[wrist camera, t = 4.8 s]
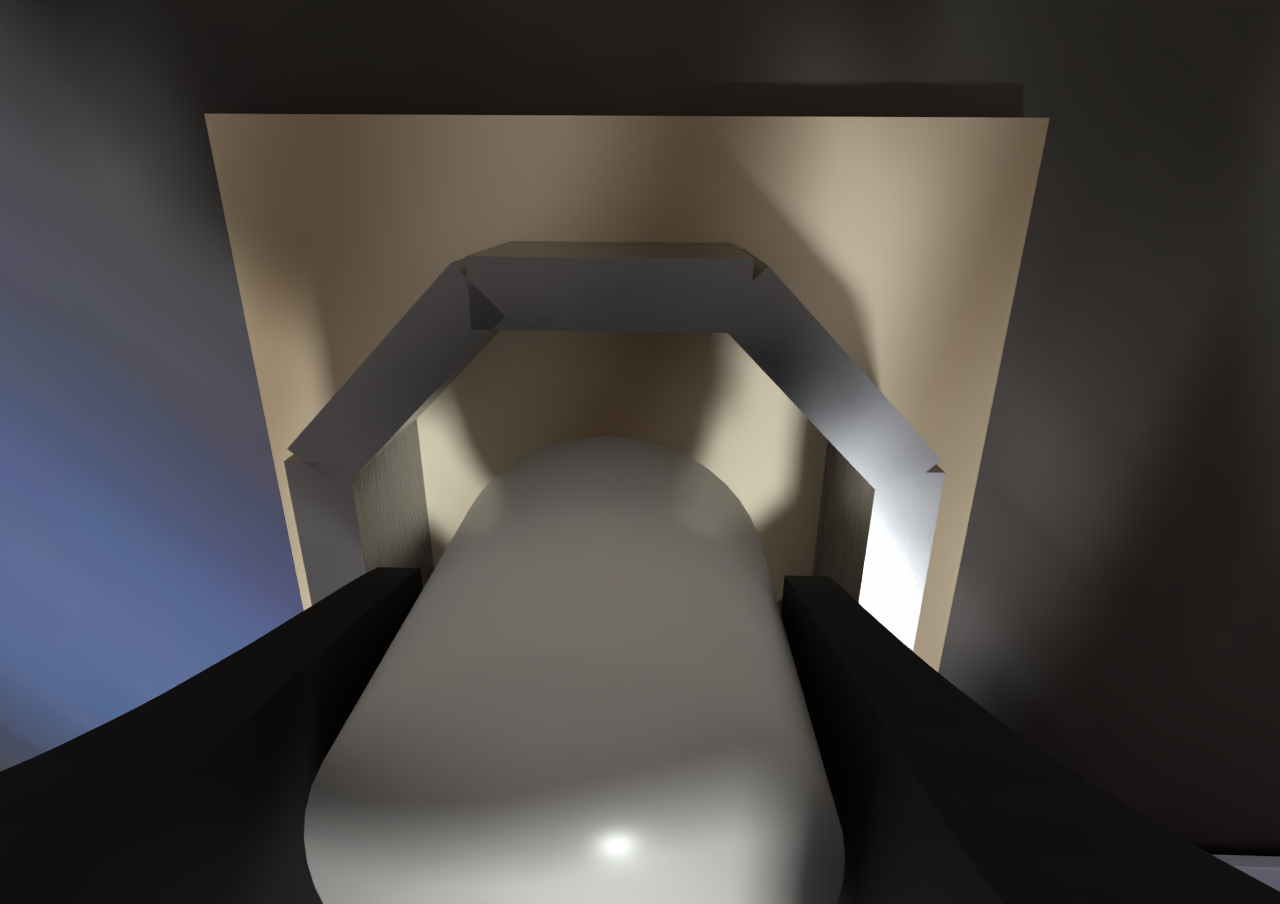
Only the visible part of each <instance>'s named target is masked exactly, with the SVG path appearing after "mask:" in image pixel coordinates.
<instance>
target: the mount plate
mask: <svg viewBox="0 0 1280 904" xmlns="http://www.w3.org/2000/svg"><path fill="white" fill-rule="evenodd" d="M204 115H205V120H206V125H207V130H208V135H209V140H210V145H211V150H212V155H213V160H214V165H215V170H216V175H217V180H218V185H219V190H220V195H221V200H222V205H223V210H224V215H225V220H226V225H227V229H228V234H229V239H230V244H231V249H232V254H233V259H234V264H235V269H236V274H237V279H238V284H239V289H240V294H241V299H242V304H243V309H244V314H245V319H246V324H247V329H248V334H249V339H250V344H251V349H252V354H253V359H254V364H255V369H256V374H257V379H258V384H259V389H260V394H261V399H262V404H263V409H264V414H265V419H266V424H267V429H268V434H269V439H270V444H271V449H272V454H273V459H274V464H275V469H276V474H277V479H278V484H279V489H280V494H281V499H282V504H283V509H284V514H285V519H286V524H287V529H288V534H289V539H290V544H291V549H292V554H293V559H294V564H295V569H296V574H297V579H298V584H299V589H300V594H301V599H302V604H303V609H304V610H306V609H307V608H309V607H311V606H312V604H311V598H310V593H309V588H308V583H307V578H306V573H305V568H304V563H303V557H302V552H301V547H300V542H299V537H298V532H297V527H296V522H295V516H294V511H293V506H292V501H291V496H290V491H289V486H288V480H287V475H286V470H285V465H284V461H285V460H286V459H288V458H289V457H290V456H292V455H293V453H292V452H290V451H289V450H288V449H287V448H288V447H289V446H290V445H291V444H292V443H293V441H294V440H295V439H296V438H297V437H298V436H299V435H300V433H301V432H302V431H303V430H304V429H305V428H306V427H307V425H308V424H309V423H310V422H311V421H312V420H313V419H314V418H315V416H316V415H317V414H318V413H319V412H320V411H321V410H322V408H323V407H324V406H325V405H326V404H327V403H328V402H329V400H330V399H331V398H332V397H333V396H334V395H335V394H336V393H337V391H338V390H339V389H340V388H341V387H342V386H343V385H344V383H345V382H346V381H347V380H348V379H349V378H350V377H351V375H352V374H353V373H354V372H355V371H356V370H357V369H358V368H359V366H360V365H361V364H362V363H363V362H364V361H365V360H366V358H367V357H368V356H369V355H370V354H371V353H372V352H373V350H374V349H375V348H376V347H377V346H378V345H379V344H380V342H381V341H382V340H383V339H384V338H385V337H386V336H387V335H388V333H389V332H390V331H391V330H392V329H393V328H394V327H395V325H396V324H397V323H398V322H399V321H400V320H401V319H402V317H403V316H404V315H405V314H406V313H407V312H408V311H409V310H410V308H411V307H412V306H413V305H414V304H415V303H416V302H417V300H418V299H419V298H420V297H421V296H422V295H423V294H424V292H425V291H426V290H427V289H428V288H429V287H430V286H431V285H432V283H433V282H434V281H435V280H436V279H437V278H438V277H439V275H440V274H441V273H442V272H443V271H444V270H445V269H446V267H447V266H448V265H449V264H450V263H451V262H454V261H457V260H460V259H463V258H465V256H467V255H470V254H473V253H476V252H479V251H482V250H485V249H488V248H491V247H494V246H497V245H500V244H503V243H506V242H509V241H574V242H680V243H733V244H734V245H735V246H737V247H738V248H740V249H741V250H742V249H743V248H744V249H745V250H747V251H748V252H749V253H751V254H752V255H754V256H755V257H757V258H758V259H759V260H761V261H762V262H764V263H765V264H767V265H768V266H769V267H770V268H771V269H772V270H773V271H774V273H775V274H776V275H777V276H778V277H779V278H780V279H781V280H782V281H783V283H784V284H785V285H786V286H787V287H788V288H789V289H790V290H791V292H792V293H793V294H794V295H795V296H796V297H797V298H798V299H799V301H800V302H801V303H802V304H803V305H804V306H805V307H806V308H807V310H808V311H809V312H810V313H811V314H812V315H813V316H814V317H815V318H816V320H817V321H818V322H819V323H820V324H821V325H822V326H823V327H824V329H825V330H826V331H827V332H828V333H829V334H830V335H831V336H832V338H833V339H834V340H835V341H836V342H837V343H838V344H839V345H840V347H841V348H842V349H843V350H844V351H845V352H846V353H847V354H848V355H849V357H850V358H851V359H852V360H853V361H854V362H855V363H856V364H857V366H858V367H859V368H860V369H861V370H862V371H863V372H864V373H865V375H866V376H867V377H868V378H869V379H870V380H871V381H872V382H873V383H874V385H875V386H876V387H877V388H878V389H879V390H880V391H881V392H882V394H883V395H884V396H885V397H886V398H887V399H888V400H889V401H890V403H891V404H892V405H893V406H894V407H895V408H896V409H897V410H898V412H899V413H900V414H901V415H902V416H903V417H904V418H905V419H906V420H907V422H908V423H909V424H910V425H911V426H912V427H913V428H914V429H915V431H916V432H917V433H918V434H919V435H920V436H921V437H922V438H923V440H924V441H925V442H926V443H927V444H928V445H929V446H930V447H931V449H932V450H933V451H934V452H935V453H936V454H937V455H938V456H939V457H940V459H941V461H940V462H938V463H937V465H938V466H939V467H940V468H941V469H942V470H943V471H944V472H945V477H944V483H943V488H942V494H941V499H940V505H939V510H938V516H937V521H936V527H935V532H934V538H933V543H932V549H931V554H930V560H929V565H928V571H927V576H926V582H925V587H924V593H923V598H922V604H921V609H920V615H919V620H918V625H917V631H916V636H915V642H914V647H913V652H914V653H916V654H917V655H918V656H919V657H920V658H921V659H923V660H924V661H925V662H926V663H927V664H928V665H930V666H931V667H932V668H933V669H934V670H936V671H937V672H938V671H939V666H940V661H941V656H942V651H943V646H944V641H945V636H946V631H947V626H948V621H949V616H950V611H951V606H952V601H953V596H954V591H955V586H956V581H957V576H958V571H959V566H960V561H961V556H962V551H963V546H964V541H965V536H966V531H967V526H968V521H969V516H970V511H971V507H972V502H973V497H974V492H975V487H976V482H977V477H978V472H979V467H980V462H981V457H982V452H983V447H984V442H985V437H986V432H987V427H988V422H989V417H990V412H991V407H992V402H993V397H994V392H995V387H996V382H997V377H998V372H999V367H1000V362H1001V357H1002V352H1003V347H1004V342H1005V338H1006V333H1007V328H1008V323H1009V318H1010V313H1011V308H1012V303H1013V298H1014V293H1015V288H1016V283H1017V278H1018V273H1019V268H1020V263H1021V258H1022V253H1023V248H1024V243H1025V238H1026V233H1027V228H1028V223H1029V218H1030V213H1031V208H1032V203H1033V198H1034V193H1035V188H1036V183H1037V178H1038V173H1039V168H1040V164H1041V159H1042V154H1043V149H1044V144H1045V139H1046V134H1047V129H1048V124H1049V119H1050V118H986V117H780V116H575V115H369V114H204ZM417 426H418V435H419V443H420V452H421V461H422V469H423V478H424V486H425V495H426V504H427V512H428V521H429V529H430V538H431V546H432V555H433V564H434V568H436V566H437V564H438V562H439V561H440V559H441V557H442V555H443V554H444V552H445V550H446V549H447V547H448V545H449V543H450V542H451V540H452V538H453V536H454V535H455V533H456V531H457V530H458V528H459V526H460V524H461V523H462V521H463V519H464V518H465V516H466V514H467V512H468V511H469V509H470V507H471V506H472V504H473V503H474V501H475V500H476V498H477V497H478V495H479V494H480V492H481V491H482V490H483V489H484V488H485V487H486V486H487V485H488V484H489V482H490V481H491V480H492V479H493V478H494V477H495V476H497V475H498V474H499V473H500V472H501V471H503V470H504V469H505V468H506V467H508V466H509V465H510V464H512V463H513V462H515V461H517V460H518V459H520V458H522V457H523V456H525V455H527V454H529V453H531V452H533V451H536V450H538V449H540V448H543V447H545V446H548V445H551V444H554V443H558V442H561V441H565V440H570V439H576V438H582V437H590V436H617V437H628V438H635V439H640V440H644V441H649V442H654V443H657V444H659V445H662V446H665V447H668V448H671V449H674V450H676V451H678V452H680V453H682V454H684V455H686V456H688V457H690V458H692V459H694V460H695V461H697V462H698V463H700V464H701V465H703V466H704V467H706V468H707V469H709V470H710V471H712V472H713V473H714V474H715V475H716V476H717V477H718V478H719V479H721V480H722V481H723V482H724V483H725V484H726V485H727V486H728V487H729V488H730V489H731V491H732V492H733V493H734V494H735V495H736V496H737V497H738V499H739V500H740V501H741V503H742V505H743V506H744V508H745V509H746V511H747V512H748V514H749V515H750V517H751V520H752V522H753V524H754V526H755V528H756V531H757V533H758V536H759V540H760V543H761V547H762V550H763V554H764V557H765V561H766V564H767V568H768V571H769V575H770V578H771V582H772V585H773V589H774V592H775V596H776V600H777V602H778V601H779V600H781V599H782V596H783V586H784V575H789V576H812V575H813V566H814V557H815V548H816V539H817V530H818V521H819V513H820V504H821V495H822V486H823V477H824V468H825V459H826V451H827V442H828V439H827V438H826V437H825V436H824V435H823V434H822V433H821V432H820V431H819V430H818V429H817V427H816V426H815V425H814V424H813V423H812V422H811V421H810V420H809V419H808V418H807V417H806V416H805V415H804V414H803V413H802V412H801V410H800V409H799V408H798V407H797V406H796V405H795V404H794V403H793V402H792V401H791V400H790V399H789V398H788V397H787V396H786V395H785V393H784V392H783V391H782V390H781V389H780V388H779V387H778V386H777V385H776V384H775V383H774V382H773V381H772V380H771V379H770V378H769V376H768V375H767V374H766V373H765V372H764V371H763V370H762V369H761V368H760V367H759V366H758V365H757V364H756V363H755V362H754V361H753V359H752V358H751V357H750V356H749V355H748V354H747V353H746V352H745V351H744V350H743V349H742V348H741V347H740V346H739V345H738V344H737V342H736V341H735V340H734V339H733V338H732V337H731V336H730V335H729V334H728V333H685V332H606V331H527V330H500V331H499V332H498V333H497V334H496V335H495V337H494V338H493V339H492V340H491V341H490V342H489V343H488V344H487V345H486V346H485V347H484V348H483V349H482V350H481V351H480V352H479V354H478V355H477V356H476V357H475V358H474V359H473V360H472V361H471V362H470V363H469V364H468V365H467V366H466V367H465V368H464V369H463V370H462V372H461V373H460V374H459V375H458V376H457V377H456V378H455V379H454V380H453V381H452V382H451V383H450V384H449V385H448V386H447V387H446V389H445V390H444V391H443V392H442V393H441V394H440V395H439V396H438V397H437V398H436V399H435V400H434V401H433V402H432V403H431V404H430V406H429V407H428V408H427V409H426V410H425V411H424V412H423V413H422V414H421V415H420V416H419V417H418V418H417Z"/></svg>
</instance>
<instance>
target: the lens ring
mask: <svg viewBox="0 0 1280 904" xmlns="http://www.w3.org/2000/svg"><path fill="white" fill-rule="evenodd" d="M500 330H527V331H606V332H685V333H728V334H729V335H730V336H731V337H732V338H733V339H734V340H735V341H736V342H737V344H738V345H739V346H740V347H741V348H742V349H743V350H744V351H745V352H746V353H747V354H748V355H749V356H750V357H751V358H752V359H753V361H754V362H755V363H756V364H757V365H758V366H759V367H760V368H761V369H762V370H763V371H764V372H765V373H766V374H767V375H768V376H769V378H770V379H771V380H772V381H773V382H774V383H775V384H776V385H777V386H778V387H779V388H780V389H781V390H782V391H783V392H784V393H785V395H786V396H787V397H788V398H789V399H790V400H791V401H792V402H793V403H794V404H795V405H796V406H797V407H798V408H799V409H800V410H801V412H802V413H803V414H804V415H805V416H806V417H807V418H808V419H809V420H810V421H811V422H812V423H813V424H814V425H815V426H816V427H817V429H818V430H819V431H820V432H821V433H822V434H823V435H824V436H825V437H826V438H827V439H828V442H827V451H826V459H825V468H824V477H823V486H822V495H821V504H820V513H819V521H818V530H817V539H816V548H815V557H814V566H813V575H812V576H829V577H830V578H832V579H833V580H834V581H835V582H836V583H837V584H839V585H840V586H841V587H842V588H843V589H844V590H845V591H846V592H848V593H849V594H850V595H851V596H852V597H853V598H854V599H855V600H856V601H857V602H858V603H860V604H861V605H862V606H863V607H864V608H865V609H866V610H867V611H868V612H869V613H870V614H872V615H873V616H874V617H875V618H876V619H877V620H878V621H879V622H880V623H882V624H883V625H884V626H885V627H886V628H887V629H888V630H889V631H890V632H892V633H893V634H894V635H895V636H896V637H897V638H898V639H899V640H901V641H902V642H903V643H904V644H905V645H906V646H907V647H909V648H910V649H911V650H912V651H913V647H914V642H915V636H916V631H917V625H918V620H919V615H920V609H921V604H922V598H923V593H924V587H925V582H926V576H927V571H928V565H929V560H930V554H931V549H932V543H933V538H934V532H935V527H936V521H937V516H938V510H939V505H940V499H941V494H942V488H943V483H944V477H945V472H944V471H943V470H942V469H941V468H940V467H939V466H938V465H937V463H938V462H940V461H941V459H940V457H939V456H938V455H937V454H936V453H935V452H934V451H933V450H932V449H931V447H930V446H929V445H928V444H927V443H926V442H925V441H924V440H923V438H922V437H921V436H920V435H919V434H918V433H917V432H916V431H915V429H914V428H913V427H912V426H911V425H910V424H909V423H908V422H907V420H906V419H905V418H904V417H903V416H902V415H901V414H900V413H899V412H898V410H897V409H896V408H895V407H894V406H893V405H892V404H891V403H890V401H889V400H888V399H887V398H886V397H885V396H884V395H883V394H882V392H881V391H880V390H879V389H878V388H877V387H876V386H875V385H874V383H873V382H872V381H871V380H870V379H869V378H868V377H867V376H866V375H865V373H864V372H863V371H862V370H861V369H860V368H859V367H858V366H857V364H856V363H855V362H854V361H853V360H852V359H851V358H850V357H849V355H848V354H847V353H846V352H845V351H844V350H843V349H842V348H841V347H840V345H839V344H838V343H837V342H836V341H835V340H834V339H833V338H832V336H831V335H830V334H829V333H828V332H827V331H826V330H825V329H824V327H823V326H822V325H821V324H820V323H819V322H818V321H817V320H816V318H815V317H814V316H813V315H812V314H811V313H810V312H809V311H808V310H807V308H806V307H805V306H804V305H803V304H802V303H801V302H800V301H799V299H798V298H797V297H796V296H795V295H794V294H793V293H792V292H791V290H790V289H789V288H788V287H787V286H786V285H785V284H784V283H783V281H782V280H781V279H780V278H779V277H778V276H777V275H776V274H775V273H774V271H773V270H772V269H771V268H770V267H769V266H768V265H767V264H765V263H764V262H762V261H761V260H759V259H758V258H757V257H755V256H754V255H752V254H751V253H749V252H748V251H747V250H745V249H744V248H743V249H742V250H741V249H740V248H738V247H737V246H735V245H734V244H733V243H680V242H574V241H509V242H506V243H503V244H500V245H497V246H494V247H491V248H488V249H485V250H482V251H479V252H476V253H473V254H470V255H467V256H465V258H463V259H460V260H457V261H454V262H451V263H450V264H449V265H448V266H447V267H446V269H445V270H444V271H443V272H442V273H441V274H440V275H439V277H438V278H437V279H436V280H435V281H434V282H433V283H432V285H431V286H430V287H429V288H428V289H427V290H426V291H425V292H424V294H423V295H422V296H421V297H420V298H419V299H418V300H417V302H416V303H415V304H414V305H413V306H412V307H411V308H410V310H409V311H408V312H407V313H406V314H405V315H404V316H403V317H402V319H401V320H400V321H399V322H398V323H397V324H396V325H395V327H394V328H393V329H392V330H391V331H390V332H389V333H388V335H387V336H386V337H385V338H384V339H383V340H382V341H381V342H380V344H379V345H378V346H377V347H376V348H375V349H374V350H373V352H372V353H371V354H370V355H369V356H368V357H367V358H366V360H365V361H364V362H363V363H362V364H361V365H360V366H359V368H358V369H357V370H356V371H355V372H354V373H353V374H352V375H351V377H350V378H349V379H348V380H347V381H346V382H345V383H344V385H343V386H342V387H341V388H340V389H339V390H338V391H337V393H336V394H335V395H334V396H333V397H332V398H331V399H330V400H329V402H328V403H327V404H326V405H325V406H324V407H323V408H322V410H321V411H320V412H319V413H318V414H317V415H316V416H315V418H314V419H313V420H312V421H311V422H310V423H309V424H308V425H307V427H306V428H305V429H304V430H303V431H302V432H301V433H300V435H299V436H298V437H297V438H296V439H295V440H294V441H293V443H292V444H291V445H290V446H289V447H288V448H287V449H288V450H289V451H290V452H292V453H293V455H292V456H290V457H289V458H288V459H286V460H285V461H284V465H285V470H286V475H287V480H288V486H289V491H290V496H291V501H292V506H293V511H294V516H295V522H296V527H297V532H298V537H299V542H300V547H301V552H302V557H303V563H304V568H305V573H306V578H307V583H308V588H309V593H310V598H311V604H312V605H314V604H315V603H317V602H319V601H320V600H322V599H323V598H325V597H327V596H328V595H330V594H332V593H333V592H335V591H336V590H338V589H340V588H341V587H343V586H345V585H346V584H348V583H350V582H351V581H353V580H355V579H356V578H358V577H360V576H362V575H363V574H365V573H367V572H369V571H371V570H373V569H375V568H377V567H397V568H421V576H422V584H423V588H424V587H425V585H426V583H427V581H428V580H429V578H430V576H431V574H432V573H433V571H434V569H435V568H434V564H433V555H432V546H431V538H430V529H429V521H428V512H427V504H426V495H425V486H424V478H423V469H422V461H421V452H420V443H419V435H418V426H417V418H418V417H419V416H420V415H421V414H422V413H423V412H424V411H425V410H426V409H427V408H428V407H429V406H430V404H431V403H432V402H433V401H434V400H435V399H436V398H437V397H438V396H439V395H440V394H441V393H442V392H443V391H444V390H445V389H446V387H447V386H448V385H449V384H450V383H451V382H452V381H453V380H454V379H455V378H456V377H457V376H458V375H459V374H460V373H461V372H462V370H463V369H464V368H465V367H466V366H467V365H468V364H469V363H470V362H471V361H472V360H473V359H474V358H475V357H476V356H477V355H478V354H479V352H480V351H481V350H482V349H483V348H484V347H485V346H486V345H487V344H488V343H489V342H490V341H491V340H492V339H493V338H494V337H495V335H496V334H497V333H498V332H499V331H500ZM777 603H778V607H779V610H780V614H781V606H782V599H781V600H779V601H778V602H777Z"/></svg>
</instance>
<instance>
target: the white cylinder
mask: <svg viewBox="0 0 1280 904" xmlns="http://www.w3.org/2000/svg"><path fill="white" fill-rule="evenodd" d="M304 842H305V850H306V858H307V864H308V867H309V870H310V873H311V876H312V880H313V883H314V886H315V888H316V890H317V892H318V894H319V896H320V898H321V900H322V902H323V904H837V902H838V898H839V895H840V891H841V888H842V884H843V875H844V864H845V852H844V841H843V832H842V828H841V825H840V821H839V818H838V814H837V811H836V807H835V804H834V800H833V797H832V793H831V790H830V786H829V783H828V779H827V776H826V772H825V769H824V765H823V761H822V758H821V754H820V751H819V747H818V744H817V740H816V737H815V733H814V730H813V726H812V723H811V719H810V716H809V712H808V709H807V705H806V702H805V698H804V695H803V691H802V688H801V684H800V681H799V677H798V673H797V670H796V666H795V663H794V659H793V656H792V652H791V649H790V645H789V642H788V638H787V635H786V631H785V628H784V624H783V621H782V617H781V614H780V610H779V607H778V603H777V600H776V596H775V592H774V589H773V585H772V582H771V578H770V575H769V571H768V568H767V564H766V561H765V557H764V554H763V550H762V547H761V543H760V540H759V536H758V533H757V531H756V528H755V526H754V524H753V522H752V520H751V517H750V515H749V514H748V512H747V511H746V509H745V508H744V506H743V505H742V503H741V501H740V500H739V499H738V497H737V496H736V495H735V494H734V493H733V492H732V491H731V489H730V488H729V487H728V486H727V485H726V484H725V483H724V482H723V481H722V480H721V479H719V478H718V477H717V476H716V475H715V474H714V473H713V472H712V471H710V470H709V469H707V468H706V467H704V466H703V465H701V464H700V463H698V462H697V461H695V460H694V459H692V458H690V457H688V456H686V455H684V454H682V453H680V452H678V451H676V450H674V449H671V448H668V447H665V446H662V445H659V444H657V443H654V442H649V441H644V440H640V439H635V438H628V437H617V436H590V437H582V438H576V439H570V440H565V441H561V442H558V443H554V444H551V445H548V446H545V447H543V448H540V449H538V450H536V451H533V452H531V453H529V454H527V455H525V456H523V457H522V458H520V459H518V460H517V461H515V462H513V463H512V464H510V465H509V466H508V467H506V468H505V469H504V470H503V471H501V472H500V473H499V474H498V475H497V476H495V477H494V478H493V479H492V480H491V481H490V482H489V484H488V485H487V486H486V487H485V488H484V489H483V490H482V491H481V492H480V494H479V495H478V497H477V498H476V500H475V501H474V503H473V504H472V506H471V507H470V509H469V511H468V512H467V514H466V516H465V518H464V519H463V521H462V523H461V524H460V526H459V528H458V530H457V531H456V533H455V535H454V536H453V538H452V540H451V542H450V543H449V545H448V547H447V549H446V550H445V552H444V554H443V555H442V557H441V559H440V561H439V562H438V564H437V566H436V568H435V569H434V571H433V573H432V574H431V576H430V578H429V580H428V581H427V583H426V585H425V587H424V588H423V590H422V592H421V593H420V595H419V597H418V599H417V600H416V602H415V604H414V605H413V607H412V609H411V611H410V612H409V614H408V616H407V618H406V619H405V621H404V623H403V624H402V626H401V628H400V630H399V631H398V633H397V635H396V637H395V638H394V640H393V642H392V643H391V645H390V647H389V649H388V650H387V652H386V654H385V656H384V657H383V659H382V661H381V662H380V664H379V666H378V668H377V669H376V671H375V673H374V674H373V676H372V678H371V680H370V681H369V683H368V685H367V687H366V688H365V690H364V692H363V693H362V695H361V697H360V699H359V700H358V702H357V704H356V706H355V707H354V709H353V711H352V712H351V714H350V716H349V718H348V719H347V721H346V723H345V724H344V726H343V728H342V730H341V731H340V733H339V735H338V737H337V738H336V740H335V742H334V743H333V745H332V747H331V749H330V750H329V752H328V754H327V756H326V757H325V759H324V761H323V763H322V765H321V767H320V769H319V771H318V773H317V776H316V778H315V780H314V782H313V784H312V787H311V790H310V795H309V799H308V803H307V807H306V811H305V825H304Z"/></svg>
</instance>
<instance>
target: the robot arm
mask: <svg viewBox="0 0 1280 904" xmlns="http://www.w3.org/2000/svg"><path fill="white" fill-rule="evenodd" d="M422 590H423V584H422V576H421V568H397V567H377V568H375V569H373V570H371V571H369V572H367V573H365V574H363V575H362V576H360V577H358V578H356V579H355V580H353V581H351V582H350V583H348V584H346V585H345V586H343V587H341V588H340V589H338V590H336V591H335V592H333V593H332V594H330V595H328V596H327V597H325V598H323V599H322V600H320V601H319V602H317V603H315V604H314V605H312V606H311V607H309V608H307V609H306V610H304V611H303V612H301V613H299V614H298V615H296V616H295V617H293V618H291V619H290V620H288V621H286V622H285V623H283V624H282V625H280V626H278V627H277V628H275V629H274V630H272V631H270V632H269V633H267V634H265V635H264V636H262V637H261V638H259V639H257V640H256V641H254V642H252V643H251V644H249V645H248V646H246V647H244V648H242V649H241V650H239V651H237V652H235V653H234V654H232V655H230V656H228V657H227V658H225V659H223V660H221V661H220V662H218V663H216V664H214V665H213V666H211V667H209V668H207V669H206V670H204V671H202V672H200V673H199V674H197V675H195V676H193V677H192V678H190V679H188V680H186V681H185V682H183V683H181V684H179V685H178V686H176V687H174V688H172V689H171V690H169V691H167V692H165V693H163V694H162V695H160V696H158V697H156V698H154V699H152V700H150V701H148V702H147V703H145V704H143V705H141V706H139V707H137V708H135V709H133V710H131V711H129V712H127V713H125V714H123V715H121V716H119V717H117V718H116V719H113V720H111V721H109V722H107V723H105V724H103V725H101V726H99V727H97V728H95V729H93V730H91V731H89V732H87V733H85V734H83V735H80V736H78V737H76V738H74V739H72V740H70V741H68V742H66V743H64V744H62V745H60V746H58V747H56V748H53V749H51V750H49V751H47V752H45V753H43V754H40V755H38V756H36V757H34V758H32V759H29V760H27V761H25V762H22V763H20V764H18V765H15V766H13V767H10V768H8V769H6V770H3V771H1V772H0V904H323V902H322V900H321V898H320V896H319V894H318V892H317V890H316V888H315V886H314V883H313V880H312V876H311V873H310V870H309V867H308V864H307V858H306V850H305V842H304V825H305V811H306V807H307V803H308V799H309V795H310V790H311V787H312V784H313V782H314V780H315V778H316V776H317V773H318V771H319V769H320V767H321V765H322V763H323V761H324V759H325V757H326V756H327V754H328V752H329V750H330V749H331V747H332V745H333V743H334V742H335V740H336V738H337V737H338V735H339V733H340V731H341V730H342V728H343V726H344V724H345V723H346V721H347V719H348V718H349V716H350V714H351V712H352V711H353V709H354V707H355V706H356V704H357V702H358V700H359V699H360V697H361V695H362V693H363V692H364V690H365V688H366V687H367V685H368V683H369V681H370V680H371V678H372V676H373V674H374V673H375V671H376V669H377V668H378V666H379V664H380V662H381V661H382V659H383V657H384V656H385V654H386V652H387V650H388V649H389V647H390V645H391V643H392V642H393V640H394V638H395V637H396V635H397V633H398V631H399V630H400V628H401V626H402V624H403V623H404V621H405V619H406V618H407V616H408V614H409V612H410V611H411V609H412V607H413V605H414V604H415V602H416V600H417V599H418V597H419V595H420V593H421V592H422ZM781 617H782V621H783V624H784V628H785V631H786V635H787V638H788V642H789V645H790V649H791V652H792V656H793V659H794V663H795V666H796V670H797V673H798V677H799V681H800V684H801V688H802V691H803V695H804V698H805V702H806V705H807V709H808V712H809V716H810V719H811V723H812V726H813V730H814V733H815V737H816V740H817V744H818V747H819V751H820V754H821V758H822V761H823V765H824V769H825V772H826V776H827V779H828V783H829V786H830V790H831V793H832V797H833V800H834V804H835V807H836V811H837V814H838V818H839V821H840V825H841V828H842V832H843V841H844V852H845V864H844V875H843V884H842V888H841V891H840V895H839V898H838V902H837V904H1280V857H1277V856H1245V855H1212V854H1210V853H1208V852H1206V851H1204V850H1203V849H1201V848H1199V847H1197V846H1196V845H1194V844H1192V843H1191V842H1189V841H1187V840H1185V839H1184V838H1182V837H1180V836H1178V835H1177V834H1175V833H1173V832H1172V831H1170V830H1168V829H1166V828H1165V827H1163V826H1161V825H1160V824H1158V823H1156V822H1154V821H1153V820H1151V819H1149V818H1147V817H1146V816H1144V815H1142V814H1141V813H1139V812H1137V811H1135V810H1134V809H1132V808H1130V807H1129V806H1127V805H1126V804H1124V803H1122V802H1121V801H1119V800H1117V799H1116V798H1114V797H1113V796H1111V795H1109V794H1108V793H1106V792H1104V791H1103V790H1101V789H1100V788H1098V787H1096V786H1095V785H1093V784H1092V783H1090V782H1089V781H1087V780H1086V779H1084V778H1083V777H1081V776H1080V775H1078V774H1077V773H1075V772H1074V771H1072V770H1071V769H1069V768H1068V767H1066V766H1065V765H1063V764H1062V763H1060V762H1059V761H1057V760H1056V759H1054V758H1053V757H1051V756H1050V755H1048V754H1047V753H1045V752H1044V751H1042V750H1041V749H1039V748H1038V747H1036V746H1035V745H1033V744H1032V743H1030V742H1029V741H1027V740H1026V739H1024V738H1023V737H1022V736H1020V735H1019V734H1017V733H1016V732H1015V731H1013V730H1012V729H1010V728H1009V727H1008V726H1006V725H1005V724H1004V723H1002V722H1001V721H999V720H998V719H997V718H996V717H994V716H993V715H992V714H990V713H989V712H988V711H986V710H985V709H984V708H983V707H981V706H980V705H979V704H977V703H976V702H975V701H973V700H972V699H971V698H970V697H968V696H967V695H966V694H964V693H963V692H962V691H960V690H959V689H958V688H957V687H955V686H954V685H953V684H952V683H950V682H949V681H948V680H947V679H945V678H944V677H943V676H942V675H941V674H939V673H938V672H937V671H936V670H934V669H933V668H932V667H931V666H930V665H928V664H927V663H926V662H925V661H924V660H923V659H921V658H920V657H919V656H918V655H917V654H916V653H914V652H913V651H912V650H911V649H910V648H909V647H907V646H906V645H905V644H904V643H903V642H902V641H901V640H899V639H898V638H897V637H896V636H895V635H894V634H893V633H892V632H890V631H889V630H888V629H887V628H886V627H885V626H884V625H883V624H882V623H880V622H879V621H878V620H877V619H876V618H875V617H874V616H873V615H872V614H870V613H869V612H868V611H867V610H866V609H865V608H864V607H863V606H862V605H861V604H860V603H858V602H857V601H856V600H855V599H854V598H853V597H852V596H851V595H850V594H849V593H848V592H846V591H845V590H844V589H843V588H842V587H841V586H840V585H839V584H837V583H836V582H835V581H834V580H833V579H832V578H830V577H829V576H789V575H784V586H783V596H782V606H781Z"/></svg>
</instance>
